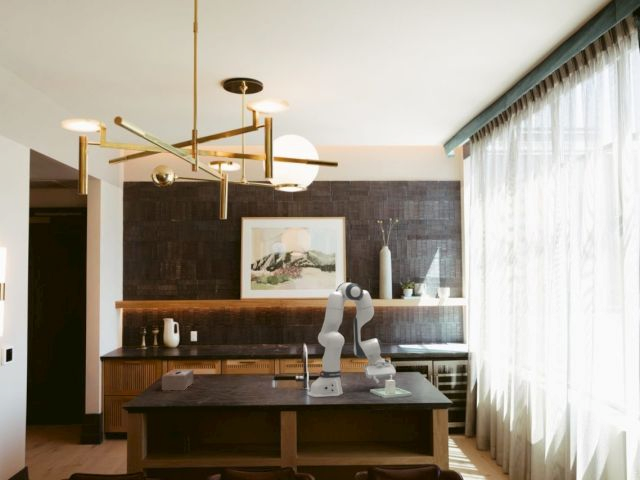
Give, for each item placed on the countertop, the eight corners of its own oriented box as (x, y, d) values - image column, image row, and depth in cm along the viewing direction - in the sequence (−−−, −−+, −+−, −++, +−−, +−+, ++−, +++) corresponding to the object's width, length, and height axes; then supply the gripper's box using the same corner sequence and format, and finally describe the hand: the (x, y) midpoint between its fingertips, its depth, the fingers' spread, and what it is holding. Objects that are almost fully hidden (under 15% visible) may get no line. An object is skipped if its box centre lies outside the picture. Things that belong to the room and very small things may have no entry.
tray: (385, 398, 354) (385, 395, 355) (370, 392, 373) (370, 389, 373) (411, 396, 361) (411, 392, 361) (395, 390, 380) (395, 387, 380)
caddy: (389, 394, 363) (389, 381, 364) (385, 393, 368) (385, 380, 369) (396, 394, 365) (396, 380, 366) (392, 392, 370) (392, 379, 370)
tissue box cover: (184, 391, 384) (184, 375, 385) (161, 391, 384) (161, 376, 385) (193, 384, 410) (193, 369, 411) (172, 384, 410) (172, 369, 411)
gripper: (364, 362, 378) (371, 380, 368) (392, 360, 386) (400, 377, 376) (361, 368, 382) (368, 386, 372) (389, 366, 390) (396, 383, 380)
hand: (384, 382), depth 374 cm, fingers open, 8 cm apart
